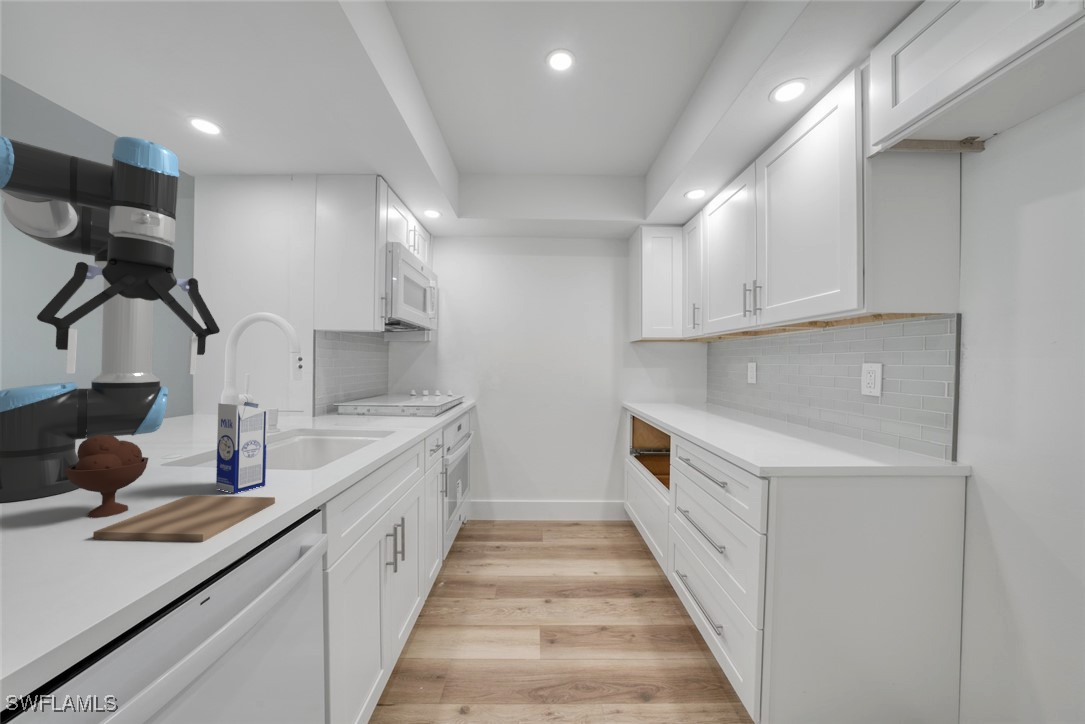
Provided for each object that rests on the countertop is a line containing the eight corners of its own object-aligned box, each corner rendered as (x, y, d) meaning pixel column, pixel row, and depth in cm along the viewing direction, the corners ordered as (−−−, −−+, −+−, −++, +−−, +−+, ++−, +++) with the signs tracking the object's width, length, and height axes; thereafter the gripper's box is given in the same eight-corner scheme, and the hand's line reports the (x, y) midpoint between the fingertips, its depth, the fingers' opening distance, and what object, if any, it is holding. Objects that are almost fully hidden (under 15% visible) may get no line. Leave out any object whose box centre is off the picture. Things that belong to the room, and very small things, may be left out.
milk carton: (215, 489, 92) (217, 402, 92) (246, 481, 98) (249, 399, 98) (234, 494, 89) (237, 404, 89) (265, 485, 95) (268, 401, 95)
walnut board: (93, 539, 66) (93, 531, 66) (188, 501, 84) (188, 495, 84) (203, 541, 66) (203, 534, 66) (274, 503, 84) (275, 497, 84)
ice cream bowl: (94, 526, 71) (96, 441, 71) (48, 519, 73) (50, 437, 73) (162, 505, 81) (164, 431, 81) (120, 500, 84) (121, 428, 84)
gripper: (11, 212, 53) (3, 373, 53) (243, 256, 71) (237, 375, 71) (18, 223, 58) (10, 370, 58) (233, 261, 76) (227, 373, 76)
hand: (136, 373), depth 64 cm, fingers open, 13 cm apart
